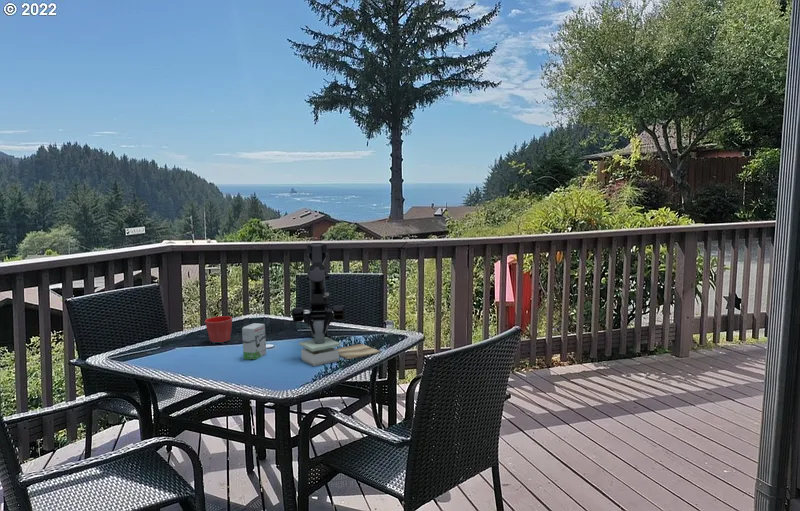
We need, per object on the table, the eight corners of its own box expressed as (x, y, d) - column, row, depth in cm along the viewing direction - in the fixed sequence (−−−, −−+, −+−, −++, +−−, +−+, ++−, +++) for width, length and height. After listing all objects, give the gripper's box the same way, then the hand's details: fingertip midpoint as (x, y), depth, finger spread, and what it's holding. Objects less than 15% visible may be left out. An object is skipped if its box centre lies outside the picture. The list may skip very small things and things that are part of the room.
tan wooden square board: (330, 351, 223) (329, 349, 223) (361, 345, 231) (361, 343, 231) (347, 359, 212) (347, 358, 212) (380, 352, 219) (380, 351, 219)
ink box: (254, 360, 215) (252, 328, 213) (242, 359, 216) (241, 328, 215) (267, 353, 223) (265, 323, 221) (255, 352, 224) (253, 322, 223)
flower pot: (200, 344, 239) (199, 321, 238) (218, 337, 249) (216, 315, 248) (221, 346, 235) (220, 322, 234) (239, 339, 245) (237, 316, 244)
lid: (299, 344, 213) (297, 320, 212) (326, 339, 219) (325, 315, 218) (312, 351, 204) (311, 326, 203) (340, 345, 210) (339, 321, 209)
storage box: (301, 359, 214) (301, 348, 213) (326, 354, 219) (326, 344, 219) (313, 366, 205) (313, 355, 205) (339, 360, 211) (338, 350, 210)
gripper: (291, 286, 212) (290, 323, 202) (343, 283, 214) (345, 320, 204) (293, 303, 220) (293, 339, 211) (343, 300, 223) (345, 336, 213)
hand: (318, 333), depth 210 cm, fingers closed on lid, 4 cm apart
